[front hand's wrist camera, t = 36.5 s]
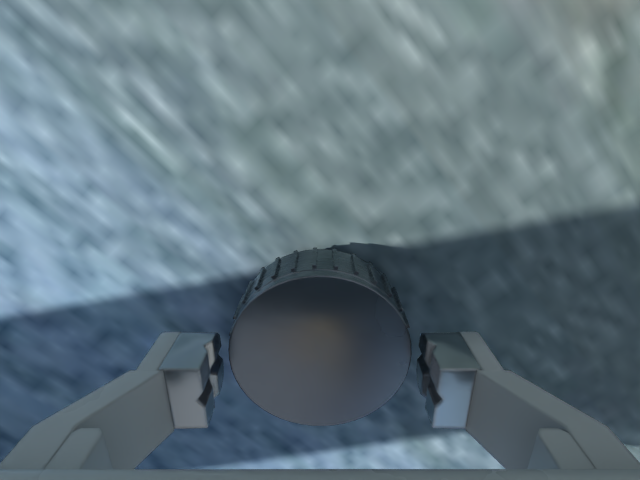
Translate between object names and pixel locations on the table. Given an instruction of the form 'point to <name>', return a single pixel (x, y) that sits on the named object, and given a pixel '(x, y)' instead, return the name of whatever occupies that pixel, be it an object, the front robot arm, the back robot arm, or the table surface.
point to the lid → (320, 338)
